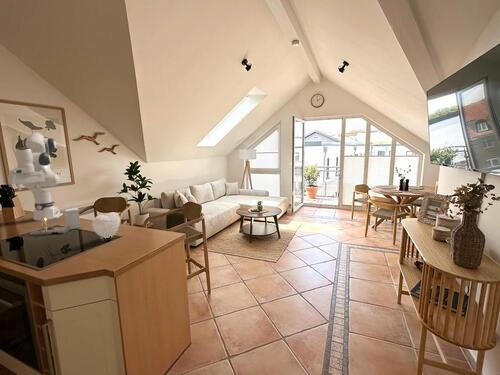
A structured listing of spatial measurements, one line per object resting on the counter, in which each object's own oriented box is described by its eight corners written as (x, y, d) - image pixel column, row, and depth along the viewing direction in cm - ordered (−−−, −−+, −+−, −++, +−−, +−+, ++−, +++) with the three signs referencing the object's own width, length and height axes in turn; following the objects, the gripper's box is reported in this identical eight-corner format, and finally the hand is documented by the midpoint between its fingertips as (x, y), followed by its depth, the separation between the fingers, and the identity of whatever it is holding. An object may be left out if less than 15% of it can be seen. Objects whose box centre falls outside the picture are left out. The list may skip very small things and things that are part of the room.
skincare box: (80, 226, 189) (78, 207, 187) (80, 228, 184) (78, 209, 182) (66, 228, 184) (64, 209, 182) (67, 230, 179) (65, 210, 177)
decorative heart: (114, 233, 172) (112, 210, 170) (125, 235, 168) (123, 211, 166) (89, 242, 156) (87, 216, 154) (100, 244, 152) (98, 218, 149)
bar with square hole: (36, 231, 175) (35, 228, 175) (69, 230, 179) (69, 226, 178) (29, 235, 168) (28, 231, 168) (64, 233, 172) (63, 229, 171)
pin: (44, 229, 181) (42, 217, 180) (48, 229, 182) (47, 217, 181) (41, 230, 178) (39, 218, 177) (46, 230, 179) (44, 218, 178)
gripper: (40, 169, 184) (42, 187, 186) (5, 171, 165) (8, 191, 167) (45, 169, 182) (47, 187, 184) (10, 171, 163) (13, 191, 165)
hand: (28, 189), depth 175 cm, fingers open, 8 cm apart
